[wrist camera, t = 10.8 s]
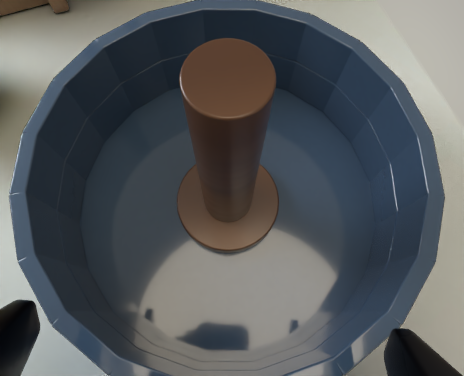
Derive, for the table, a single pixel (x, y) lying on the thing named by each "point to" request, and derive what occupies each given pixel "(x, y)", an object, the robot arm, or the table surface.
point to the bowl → (189, 251)
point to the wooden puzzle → (31, 5)
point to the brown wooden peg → (227, 145)
